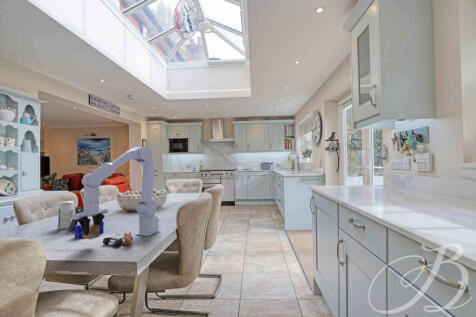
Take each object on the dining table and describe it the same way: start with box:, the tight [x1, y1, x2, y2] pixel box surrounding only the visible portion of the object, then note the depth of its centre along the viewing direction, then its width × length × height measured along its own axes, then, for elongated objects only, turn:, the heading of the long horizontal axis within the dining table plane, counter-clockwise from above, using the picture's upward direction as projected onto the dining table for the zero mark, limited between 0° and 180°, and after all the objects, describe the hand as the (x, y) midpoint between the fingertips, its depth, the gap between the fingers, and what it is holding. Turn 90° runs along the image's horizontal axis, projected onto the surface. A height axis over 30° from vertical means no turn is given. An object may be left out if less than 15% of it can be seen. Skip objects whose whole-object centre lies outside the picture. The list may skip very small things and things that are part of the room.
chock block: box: [81, 223, 100, 240], centre depth 106 cm, size 4×5×5 cm
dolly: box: [102, 233, 134, 248], centre depth 110 cm, size 9×8×3 cm
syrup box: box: [57, 200, 75, 230], centre depth 138 cm, size 6×6×14 cm
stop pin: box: [121, 231, 132, 247], centre depth 109 cm, size 3×8×5 cm, turn 66°
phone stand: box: [68, 206, 84, 233], centre depth 135 cm, size 9×6×12 cm, turn 137°
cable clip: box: [74, 220, 105, 240], centre depth 123 cm, size 12×4×6 cm, turn 142°
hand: (91, 233), depth 106 cm, fingers closed on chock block, 4 cm apart
